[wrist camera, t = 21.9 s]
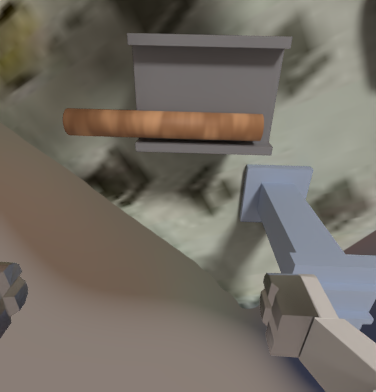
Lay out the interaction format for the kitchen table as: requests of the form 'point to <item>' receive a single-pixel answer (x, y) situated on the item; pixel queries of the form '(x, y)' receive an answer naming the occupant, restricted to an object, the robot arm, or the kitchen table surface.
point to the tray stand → (207, 83)
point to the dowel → (163, 124)
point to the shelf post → (307, 239)
